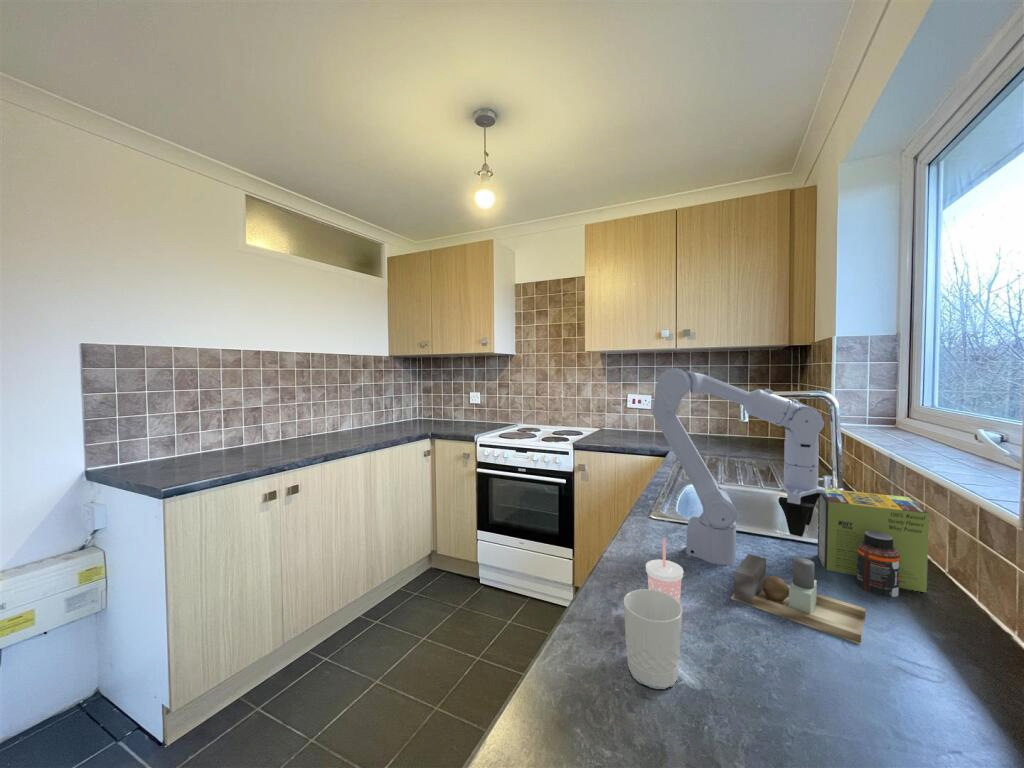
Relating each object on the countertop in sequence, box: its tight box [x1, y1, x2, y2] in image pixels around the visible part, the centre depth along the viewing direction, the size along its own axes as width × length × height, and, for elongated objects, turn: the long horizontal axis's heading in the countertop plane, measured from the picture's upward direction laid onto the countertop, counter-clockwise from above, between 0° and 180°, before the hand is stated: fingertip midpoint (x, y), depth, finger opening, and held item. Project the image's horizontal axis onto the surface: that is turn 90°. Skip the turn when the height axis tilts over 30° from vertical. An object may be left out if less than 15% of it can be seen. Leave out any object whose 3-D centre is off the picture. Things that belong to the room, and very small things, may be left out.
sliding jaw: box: [789, 556, 818, 615], centre depth 70 cm, size 3×6×8 cm, turn 136°
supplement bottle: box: [856, 531, 900, 598], centre depth 76 cm, size 6×6×11 cm
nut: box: [762, 575, 789, 604], centre depth 73 cm, size 4×4×4 cm
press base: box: [730, 553, 867, 645], centre depth 71 cm, size 18×10×6 cm, turn 46°
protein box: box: [817, 488, 930, 592], centre depth 84 cm, size 10×15×16 cm
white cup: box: [623, 588, 683, 687], centre depth 58 cm, size 8×8×10 cm
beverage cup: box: [645, 538, 684, 604], centre depth 70 cm, size 6×6×14 cm
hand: (799, 529), depth 84 cm, fingers open, 7 cm apart
